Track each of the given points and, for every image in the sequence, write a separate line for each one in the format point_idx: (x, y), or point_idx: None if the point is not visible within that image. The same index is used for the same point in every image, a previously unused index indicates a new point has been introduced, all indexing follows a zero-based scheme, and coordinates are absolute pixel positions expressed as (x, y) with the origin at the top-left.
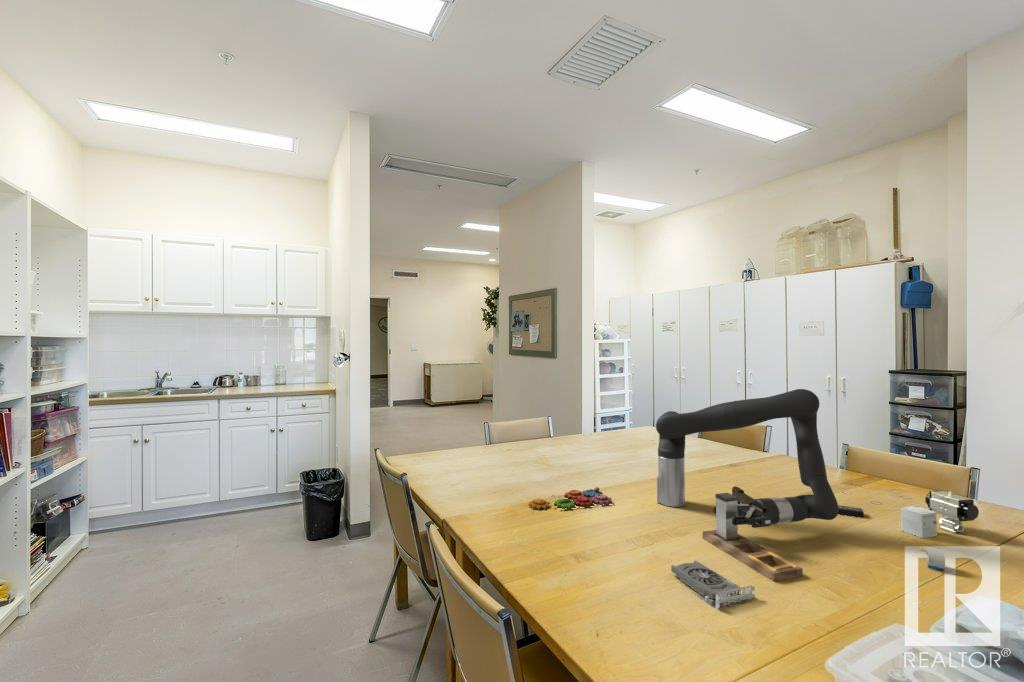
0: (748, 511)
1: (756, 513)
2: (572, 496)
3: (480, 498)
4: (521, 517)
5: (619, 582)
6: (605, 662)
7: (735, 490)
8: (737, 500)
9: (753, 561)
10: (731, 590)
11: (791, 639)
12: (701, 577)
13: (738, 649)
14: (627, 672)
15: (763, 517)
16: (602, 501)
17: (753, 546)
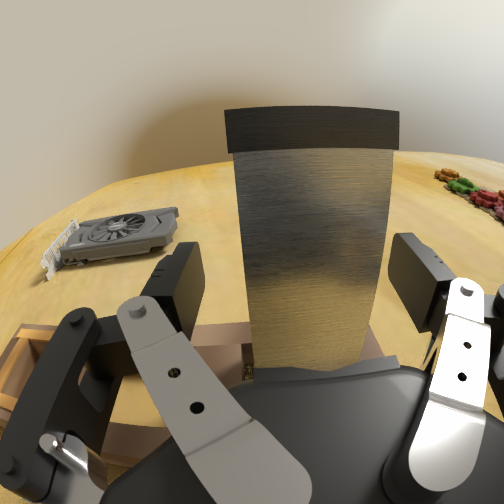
0: (187, 352)
1: (149, 466)
2: (495, 194)
3: (446, 164)
4: (403, 168)
5: (196, 191)
6: (111, 185)
7: None
8: (229, 151)
9: None
10: (63, 232)
11: (3, 267)
12: (117, 223)
13: (42, 232)
14: (96, 191)
15: (27, 406)
16: (501, 211)
17: (152, 429)
